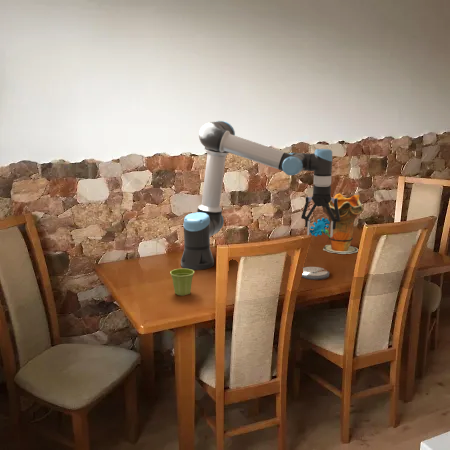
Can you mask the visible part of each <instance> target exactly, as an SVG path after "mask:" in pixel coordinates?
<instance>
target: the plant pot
mask: <svg viewBox="0 0 450 450" xmlns="http://www.w3.org/2000/svg"><path fill="white" fill-rule="evenodd" d="M169 273H170V276H171V278H172V285H173V289H174V294H175V295H177V296H186V295H190V294H191V291H192V290H191V289H192V282H193V276H194V275H195V270H192V269H186V268H183V267H181V268H176V269H173V270H170V272H169Z"/></svg>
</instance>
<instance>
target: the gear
mask: <svg viewBox="0 0 450 450" xmlns="http://www.w3.org/2000/svg"><path fill="white" fill-rule="evenodd" d="M329 224H330V222H329V218H324V217H322V218H321V219H320V218H318V219H317V222H316V221H314V222H313V223H312V225H310V234H311V236H312V237H313V236H314V237H318V235H319V236H322V235H323V234H324V235H325V236H327V237H328V238H329V237H330V231H329Z"/></svg>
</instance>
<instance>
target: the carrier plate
mask: <svg viewBox="0 0 450 450" xmlns="http://www.w3.org/2000/svg"><path fill="white" fill-rule="evenodd" d="M302 268H303V273H302V277H301V278H303V279H306V280H311V281H312V280H313V281H317V280H319V281H320V280H325V279H328V278H329V277H330V271H329V270H328V269H326V268H323V267H319V266H305V267H302Z"/></svg>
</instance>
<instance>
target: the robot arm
mask: <svg viewBox="0 0 450 450" xmlns="http://www.w3.org/2000/svg"><path fill="white" fill-rule="evenodd" d="M198 138H199V142H200V144H202V146H203V147H204V151H205V152H206V155H207V156H206V162H205V163H206V164H205V172H204V180H203V188H202V195H201V196H202V197H201V204H199V205H198V206H197V211H196V212H192V213H188V214H187V215H185V216H184V219H183V223H182V224H183V225H182V227H183V242H184V243H183V244H184V247H183V248H184V249H183V253H182V256H181V259H180V266H181V268H183V269H191V270H193V271H195V270H196V271H197V270H198V271H199V270H200V271H201V270H206V269H210V268H212V267H213V266H214V265H215V259H214V256H213V253H212V250H211V237H213V236H214V235H216V234H218V233H219V232H220V231H221V230H222V228H223V226H224V221H225V220H224V217H223V214H222V213H223V209H222V207H221V206H220V204H221V195H222V189H223V183H224V182H223V181H224V174H225V173H224V172H225V168H226V167H225V166H226V164H225V163H226V158H227V155H229V154H232V155H235V156H237V157H238V156H239V157H241V158H244V159H247V160H249V161H253V162H255V163H258V164H262V165H264V166H267V167H270V168H273V169H277V170H279V171H281V172H283V173H284V174H286V175H287V176H296V175H298V174H300V173H301V172H313V188H312V196H306V197H305V203H304V208H303V210H302V212H301V213H302V214H301V215H300V216H301V219H302V220H304V221H305V222H304V227H305V228H306V229H307V231H306V236H310V234H311V233H310V230H311V228H310V227H311V219H310V217H311V215H313V212H314V211H315V209H316V207H326V209H327V211H328V213H329V215H330V217H331V219H332V222H331V233H330V232H329V235H330V237H332V236H333V229H335V228H336V222H337V221H340V214H339V209H338V204H337V202H338V198H334V197H332V195H331V193H332V186H331V185H332V174H333V151H332V149H329V148H316V149H315V150H314V152H313V153H304V152H303V153H301V152H289V153H287V152H285V151H283V150H279V149H276V148H273V147H270V146H268V145H264V144H261V143H258V142H255V141H252V140H249V139H245V138H243V137H240V136H237V135H236V131H235V129H234V127H233V126H232V125H231V123H229V122H227V121H224V120H217V121H210V122H207V123H205V124H204V125H202V126H201V127H200V129H199V134H198ZM311 201H312V202H313V203H314V204H313V205H312V207H311V209H309V212H308V213H307V211H308V207H309V205H310V204H309V203H310V202H311ZM330 201H332V202H333V203H334V208H335V213H336V217H337V218H335V216H334V214H333V212H332V210H331V208H330V205H329V202H330ZM306 214H307V215H306Z"/></svg>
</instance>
